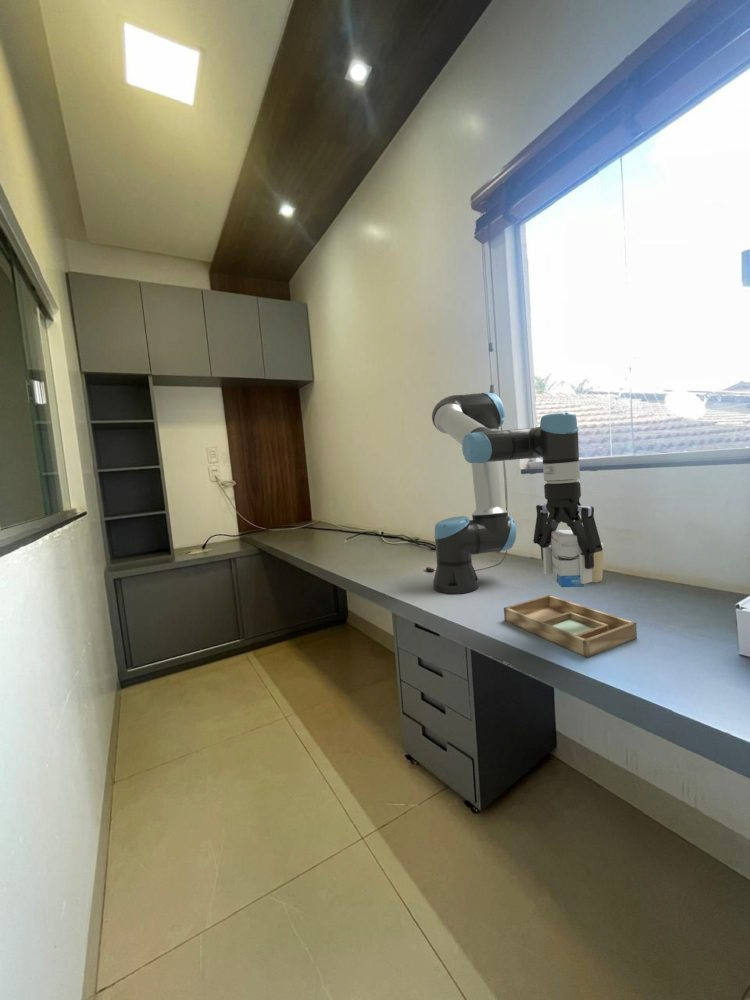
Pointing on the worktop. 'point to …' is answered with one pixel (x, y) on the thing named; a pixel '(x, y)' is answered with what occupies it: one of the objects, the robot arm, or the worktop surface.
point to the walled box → (571, 625)
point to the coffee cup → (598, 566)
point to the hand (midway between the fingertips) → (567, 577)
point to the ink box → (565, 558)
